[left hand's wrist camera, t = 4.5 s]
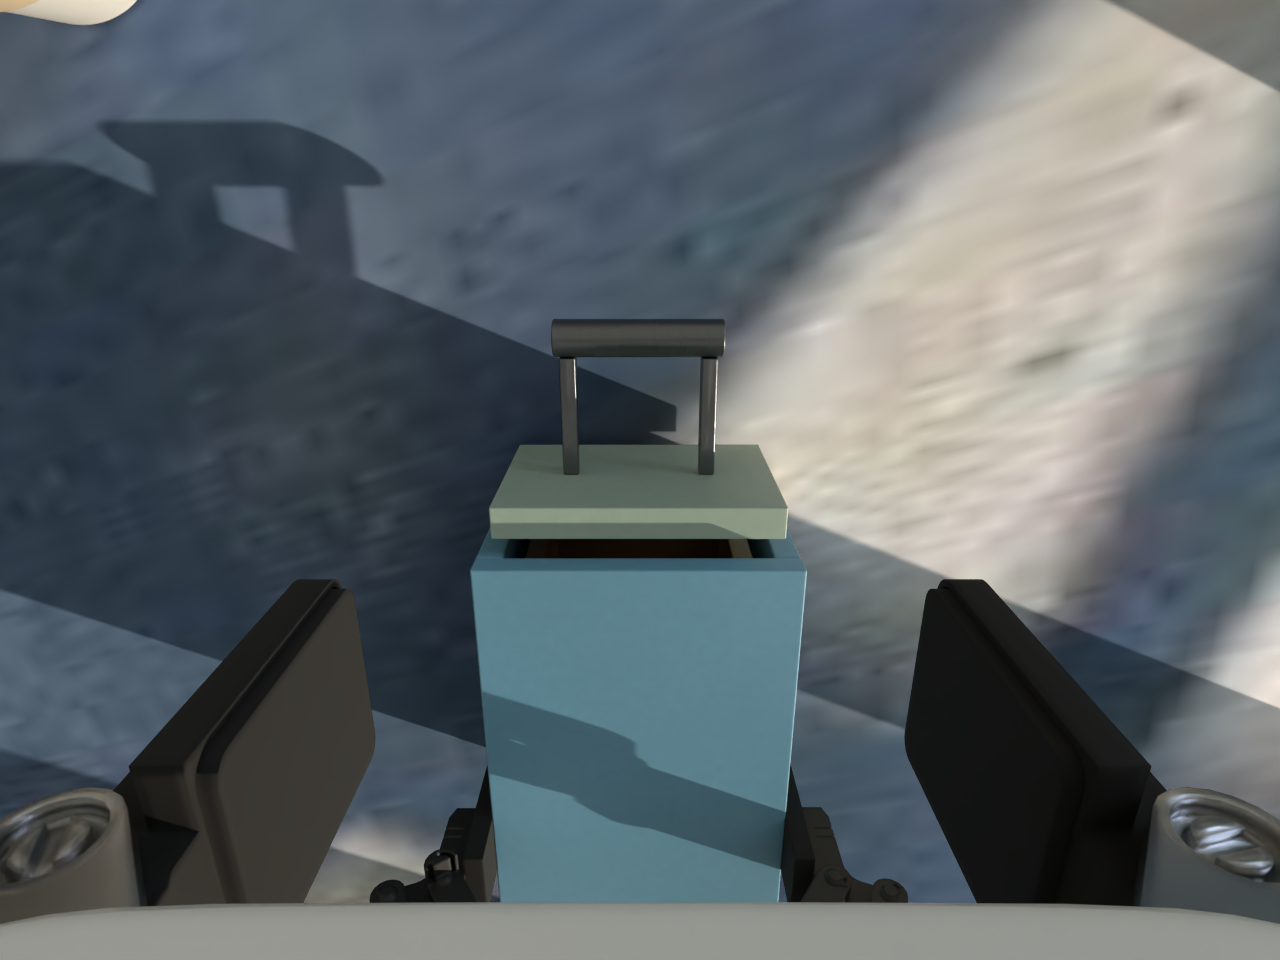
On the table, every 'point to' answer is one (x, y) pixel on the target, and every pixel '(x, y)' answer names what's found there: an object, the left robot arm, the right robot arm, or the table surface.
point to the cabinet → (638, 721)
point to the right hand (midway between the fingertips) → (639, 762)
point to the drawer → (638, 466)
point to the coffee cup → (68, 9)
